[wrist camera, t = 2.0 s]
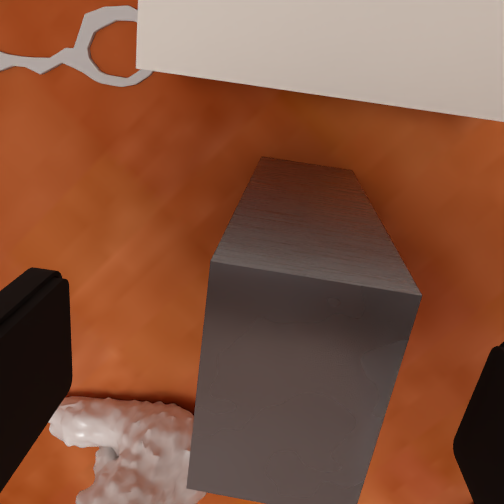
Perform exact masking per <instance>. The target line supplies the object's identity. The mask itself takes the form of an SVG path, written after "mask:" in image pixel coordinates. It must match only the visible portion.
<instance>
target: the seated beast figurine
mask: <svg viewBox="0 0 504 504" xmlns="http://www.w3.org/2000/svg"><path fill="white" fill-rule="evenodd" d="M193 421H194V416H193V415H192V413H190V412H189V411H187V410H185V409H182V408H181V407H180V406H177V405H176V404H175V403H170V404H168V405H167V404H164V403H163V402H161V401H158V402H155V403H150V402H149V401H144V402H142V401H137V400H132V401H126V400H116V399H111V398H109V397H108V398H106V399H103V398H91V397H84V396H71V397H66V398H64V399H63V401H62V402H61V404H60V405H59V407H58V408H57V410H56V411H55V413H54V414H53V416H52V417H51V419H50V420H49V423H51V424H50V428H49V430H50V432H51V434H52V435H53V436H55V437H57V438H58V439H60V440H62V441H64V443H65V444H66V445H67V446H73V445H76V446H78V447H79V448H85V447H95V446H97V447H98V446H99V450H98V451H96V455H95V456H96V459H95V460H96V463H95V465H94V468H93V469H94V473H95V481H94V483H93V484H92V485H91V486H90V487H89V488H87V489H85V490H82V491H80V492H79V493H78V495H77V496H76V504H197V502H198V501H199V500H200V499H202V498H203V497H204V496H205V495H206V492H202V491H197V490H192V489H186V486H187V477H188V467H189V458H190V449H191V439H192V430H193Z"/></svg>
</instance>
